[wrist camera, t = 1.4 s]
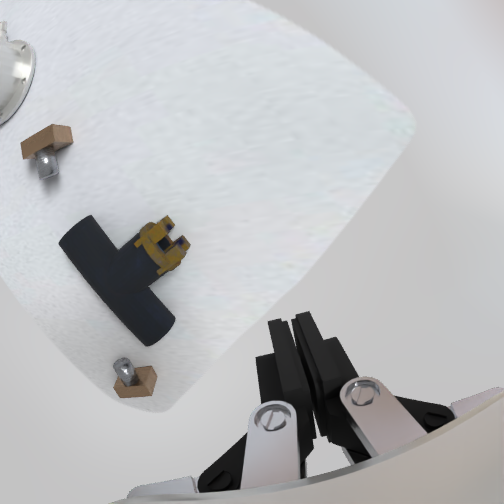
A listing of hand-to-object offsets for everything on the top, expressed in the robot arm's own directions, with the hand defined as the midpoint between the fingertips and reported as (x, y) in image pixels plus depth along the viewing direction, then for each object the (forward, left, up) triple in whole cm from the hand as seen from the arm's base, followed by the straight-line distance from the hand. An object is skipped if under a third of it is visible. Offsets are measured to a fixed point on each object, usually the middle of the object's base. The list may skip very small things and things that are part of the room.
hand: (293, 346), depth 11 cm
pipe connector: (0, -13, -21) cm, 25 cm away
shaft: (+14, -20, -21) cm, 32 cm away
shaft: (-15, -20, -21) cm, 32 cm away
